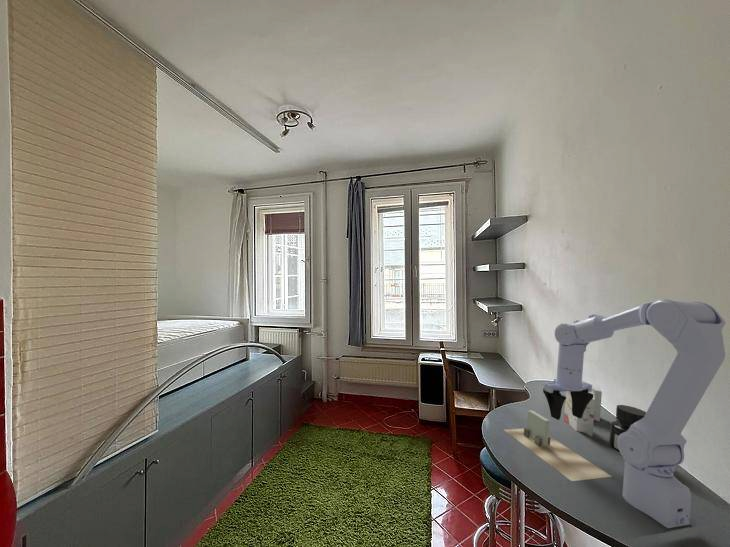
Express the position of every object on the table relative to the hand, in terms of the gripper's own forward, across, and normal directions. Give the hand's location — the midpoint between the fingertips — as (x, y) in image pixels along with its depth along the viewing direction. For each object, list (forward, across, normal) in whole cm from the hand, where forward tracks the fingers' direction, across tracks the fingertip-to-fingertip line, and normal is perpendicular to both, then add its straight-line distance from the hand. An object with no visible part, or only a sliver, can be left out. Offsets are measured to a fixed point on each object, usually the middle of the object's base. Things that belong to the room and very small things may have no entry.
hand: (566, 417), depth 81 cm
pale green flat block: (+8, +5, -4) cm, 10 cm away
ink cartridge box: (+9, -17, -10) cm, 22 cm away
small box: (+9, -30, -18) cm, 36 cm away
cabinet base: (+9, +5, +1) cm, 11 cm away
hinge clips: (+8, +5, -4) cm, 11 cm away
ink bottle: (+10, -20, +3) cm, 22 cm away
